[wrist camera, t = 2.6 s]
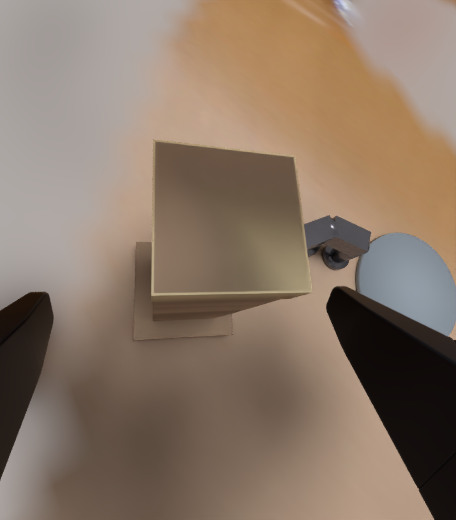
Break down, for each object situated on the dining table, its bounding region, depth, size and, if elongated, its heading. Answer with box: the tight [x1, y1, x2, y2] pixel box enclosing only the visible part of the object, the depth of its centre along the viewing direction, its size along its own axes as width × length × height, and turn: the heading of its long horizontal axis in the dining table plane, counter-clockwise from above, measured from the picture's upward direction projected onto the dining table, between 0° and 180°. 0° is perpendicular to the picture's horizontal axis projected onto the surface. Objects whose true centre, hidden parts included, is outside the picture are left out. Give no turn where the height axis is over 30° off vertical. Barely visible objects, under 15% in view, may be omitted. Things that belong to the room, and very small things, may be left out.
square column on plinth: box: [133, 139, 312, 340], centre depth 12 cm, size 6×6×12 cm
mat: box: [356, 233, 456, 336], centre depth 22 cm, size 9×9×1 cm
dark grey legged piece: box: [304, 215, 371, 270], centre depth 19 cm, size 4×8×4 cm, turn 81°
